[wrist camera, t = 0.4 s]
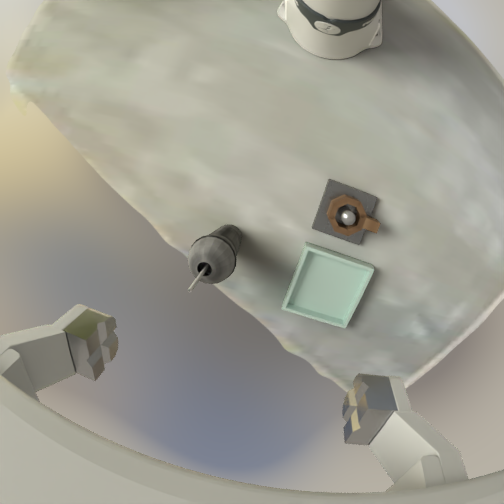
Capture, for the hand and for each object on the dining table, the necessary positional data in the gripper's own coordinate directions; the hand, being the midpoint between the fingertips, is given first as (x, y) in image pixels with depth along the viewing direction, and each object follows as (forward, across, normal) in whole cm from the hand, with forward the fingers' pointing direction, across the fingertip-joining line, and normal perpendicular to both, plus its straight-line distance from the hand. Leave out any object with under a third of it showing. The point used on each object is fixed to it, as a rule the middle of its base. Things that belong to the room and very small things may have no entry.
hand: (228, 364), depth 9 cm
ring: (+43, -12, +3) cm, 45 cm away
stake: (+44, -11, +2) cm, 46 cm away
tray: (+44, -11, +17) cm, 49 cm away
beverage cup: (+45, +9, +11) cm, 47 cm away
